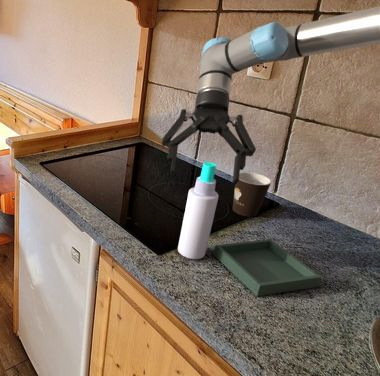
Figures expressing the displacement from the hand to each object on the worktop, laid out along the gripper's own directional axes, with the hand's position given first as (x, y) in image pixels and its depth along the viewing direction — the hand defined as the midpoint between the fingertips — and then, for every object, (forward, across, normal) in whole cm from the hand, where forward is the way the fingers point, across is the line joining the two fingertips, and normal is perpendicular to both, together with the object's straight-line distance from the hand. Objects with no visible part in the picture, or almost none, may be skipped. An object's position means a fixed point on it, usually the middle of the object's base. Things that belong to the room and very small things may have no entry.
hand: (203, 177), depth 91 cm
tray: (+17, -15, -6) cm, 24 cm away
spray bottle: (+16, 0, -8) cm, 18 cm away
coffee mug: (-4, -15, -28) cm, 32 cm away
